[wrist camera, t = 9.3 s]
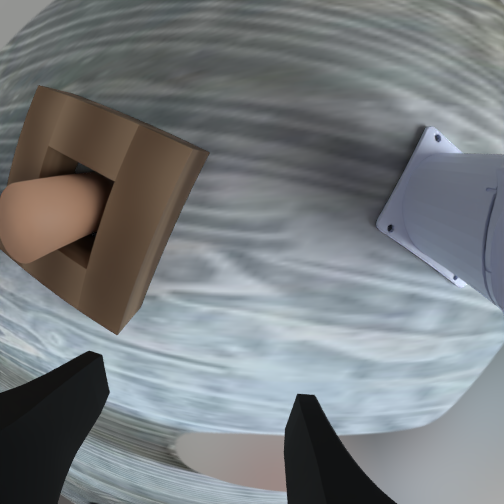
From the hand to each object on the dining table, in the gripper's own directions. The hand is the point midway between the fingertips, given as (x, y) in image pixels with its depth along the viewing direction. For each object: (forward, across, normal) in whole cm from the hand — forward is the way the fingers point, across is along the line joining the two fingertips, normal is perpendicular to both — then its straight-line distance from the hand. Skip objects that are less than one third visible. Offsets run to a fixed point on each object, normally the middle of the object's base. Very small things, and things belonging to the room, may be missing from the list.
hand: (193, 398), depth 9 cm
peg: (+10, +10, -5) cm, 15 cm away
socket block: (+10, +10, -5) cm, 15 cm away
